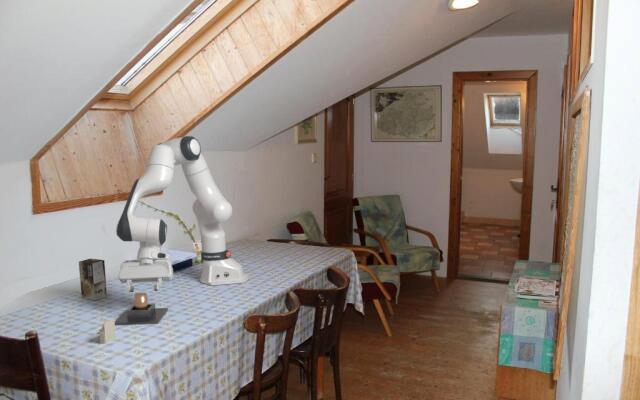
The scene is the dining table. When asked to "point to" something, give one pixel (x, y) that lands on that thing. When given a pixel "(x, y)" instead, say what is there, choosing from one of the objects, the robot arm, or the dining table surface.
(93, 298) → the coffee box
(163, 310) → the duct collar
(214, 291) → the dining table surface
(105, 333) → the architectural model
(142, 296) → the copper pipe stub
